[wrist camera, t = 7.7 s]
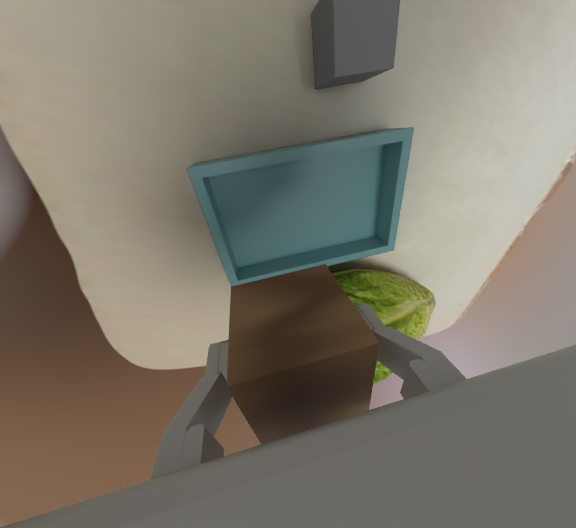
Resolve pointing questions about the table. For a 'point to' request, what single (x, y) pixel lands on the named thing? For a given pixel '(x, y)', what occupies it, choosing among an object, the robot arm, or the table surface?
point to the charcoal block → (353, 40)
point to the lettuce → (389, 302)
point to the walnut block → (298, 353)
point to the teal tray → (304, 203)
